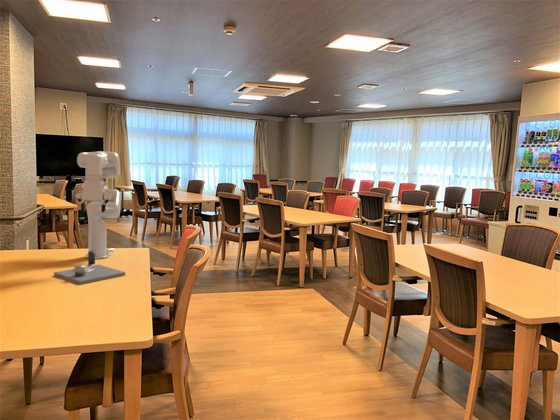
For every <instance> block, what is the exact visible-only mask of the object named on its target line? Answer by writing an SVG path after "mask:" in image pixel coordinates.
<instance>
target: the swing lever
mask: <svg viewBox="0 0 560 420" xmlns="http://www.w3.org/2000/svg"><path fill="white" fill-rule="evenodd" d="M87 252H88V253H87V254H88V258H87V259H88V260H87V264H86V265H84V264H77V265H74V269H75V275H76V276H81V275H85V272H87V271H88V270H90V269H91V268H93V267H94V266H95V265H96V259H95V251H87Z"/></svg>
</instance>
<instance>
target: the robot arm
mask: <svg viewBox="0 0 560 420" xmlns="http://www.w3.org/2000/svg"><path fill="white" fill-rule="evenodd" d="M76 163H77V165H78V167H80V168H85V180H84V181H83V186H82V191H80V192H79V193H77V194H75V197H76V200H77V202H79V204H80V209H81V212H86V214H87V218H88V219H87V220H88V221H87V222H88V226H87V227H88V245H87V246H88V251H95V260H99V259H100V260H101V259H107V258H109V257H110V254H109V253H111V252H112V253H113V252H115V248H108V246H107V245H108V244H107V241H108V240H107V237H108V236H107V235H108V233H107V232H108V230H107V227H108V226H107V224H106V223H105V221H104V220H103V219H119V217H120V215H121V214H120V213H121V206H122V205H121V204H122V203H121V202H122V197H121V192H120V191H119V190H118V189H114V188H109V184H108V183H107V182H106V181H105V179H118V178H119V177H120V175H121V165H120V163H121V162H120V157H119V154H118V153H117V152H116V151H104V150H103V151H101V150H99V151H98V150H97V151H89V152H88V151H87V152H80V153H78V155H77V158H76ZM86 201H89V203H88V204H87V206H86ZM90 201H91V202H90ZM88 251H87V252H88ZM85 258H86V259H88V253H86V254H85Z"/></svg>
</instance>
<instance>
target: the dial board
mask: <svg viewBox="0 0 560 420" xmlns="http://www.w3.org/2000/svg"><path fill="white" fill-rule="evenodd" d="M53 275H54V277H58V278H61V279H63V280H66V281H69V282H72V283H74V284H77V285H85V284H91V283H95V282H101V281H104V280H108V279H115V278H119V277H123V276H124V277H125V276H126V271H122V270H119V269H116V268H112V267H108V266H105V265H103V264H95V266H94V267H93V268H91V269H90V270H88V271H87V272H85V275H81V276H76V275H75V268H72V269H66V270H65V269H64V270H61V271H54V272H53Z"/></svg>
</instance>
